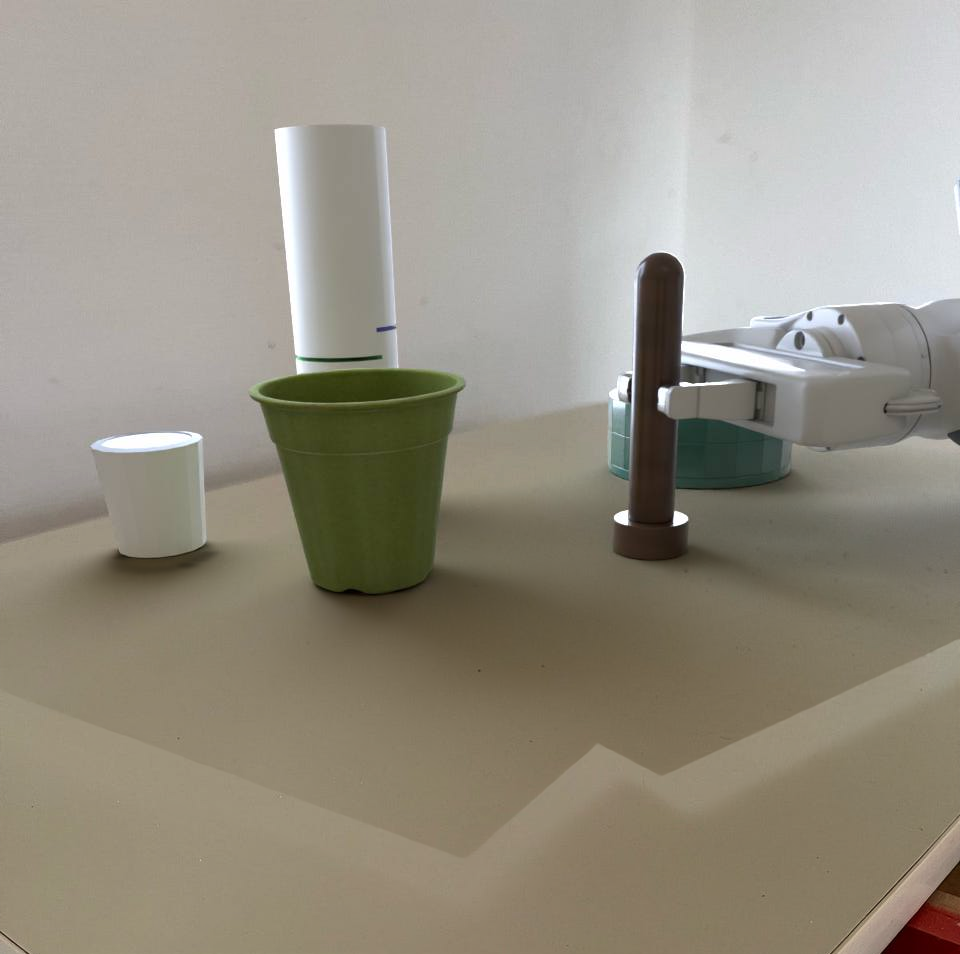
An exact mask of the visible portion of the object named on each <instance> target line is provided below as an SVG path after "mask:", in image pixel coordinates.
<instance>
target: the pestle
mask: <svg viewBox="0 0 960 954" xmlns="http://www.w3.org/2000/svg"><path fill="white" fill-rule="evenodd" d="M685 282H686V273H685V268H684V266H683V263H682V262H681V261H680V259H679V258H678V257H677V256H676V255H674V254H673V253H670V252H667V251H655V252H653V253H650V254H648V255H646V256H645V257H644V258H642V260H641V261H640V262H639V264H638V266H637V268H636V269H635V275H634V290H633V295H634V296H633V298H634V299H633V323H632V324H633V326H632V360H631V361H632V364H631V372H632V394H631V429H630V465H629V480H628V501H627V510H623V511H620V512H618V513H616V514H615V515H614V516H613V517H612V518H613V519H612V549H613V551H614V552H615V553H616V554H618V555H619V556H623V557H627V558H630V559H637V560H645V561H646V560H647V561H649V560H650V561H653V560H654V561H655V560H658V561H659V560H668V559H674V558H677V557H680V556H683V555H684V554H686V553H687V551H688V543H689V541H688V540H689V523H690V522H689V520H690V519H689V516H687V515H686V514H685V513H683V512H680V511H677V510H675V503H676V501H675V500H676V488H675V482H676V461H677V439H678V419H677V420H675V419H672V418H668V417H666V416H663V415H661V414H660V413H659V412H658V409H657V406H658V402H659V399H658V390H659V389H660V387H661V386H662V385H664V384H675V383H680V373H681V351H682V336H683V330H684V329H683V327H684V326H683V325H684V304H685V285H686V283H685Z"/></svg>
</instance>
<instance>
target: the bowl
mask: <svg viewBox="0 0 960 954" xmlns="http://www.w3.org/2000/svg"><path fill="white" fill-rule="evenodd" d="M607 398H608V401H607V447H606V449H607V453H606V454H607V467H608V470H609V471H610V473H611V474H613V475H614V476H617V477H619V478H622V479H624V480H627V481H629V465H630V429H631V404H628V403H625V402H622V401H620V400H619V399H618V397H617V388H613V390H611V391H610V392H609V393H608V397H607ZM792 453H793V443H791V442H788V441H785V440H782V439H779V438H775V437H772V436H769V435H766V434H763V433H760V432H756V431H753V430H750V429H747V428H744V427H741V426H737V425H734V424H731V423H728V422H725V421H722V420H715V419H703V418H689V419H678V439H677V461H676V482H675V489H676V488H677V489H696V490H698V489H700V490H701V489H702V490H706V489H707V490H708V489H709V490H711V489H712V490H713V489H714V490H715V489H733V488H734V489H735V488H744V487H752V486H758V485H763V484H768V483H772V482H775V481H779V480H781V479H782V478H783V479H784V478H785V477H786V476H788V474H789V473H790V472H791V465H792V464H791V463H792V455H793V454H792Z"/></svg>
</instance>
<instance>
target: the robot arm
mask: <svg viewBox="0 0 960 954" xmlns="http://www.w3.org/2000/svg"><path fill="white" fill-rule="evenodd" d="M953 190H954V198H955V206H956V213H957V214H956V215H957V222H958V223H957V224H958V231H959V234H960V177H959V178H958V180H957V182H956V183H955V186H954V189H953ZM616 381H617V384H616V387H617V388H616V389H617V397H618V399H619V400H620V401H622V402H625V403H628V404H631V394H632V371H625V372H622V373H620V374H619V376H618V377H617V380H616ZM658 399H659V402H658V406H657V409H658V412H659V413H660V414H661V415H663V416H666V417H668V418H672V419H675V420H677V419H689V418H703V419H715V420H722V421H725V422H728V423H731V424H734V425H737V426H741V427H744V428H747V429H750V430H753V431H756V432H760V433H763V434H766V435H769V436H772V437H775V438H779V439H782V440H785V441H788V442H791V443H792V444H794V445H797V446H801V447H806V448H807V449H808V450H811V451H813V452H817V453H829V452H838V451H848V450H857V449H866V448H875V447H877V448H878V447H885V446H892V445H896V444H898V443H900V442H904V441H905V440H908V439H909V438H912V437H918V438H921V439H922V438H923V439H926V440H933V441H934V440H935V441H938V440H939V441H940V440H951V441H952V442H953V443H954V444H956V445H958V446H959V447H960V297H959V298H958V297H957V298H943V299H937V300H933V301H929V302H927V303H924V304H923V305H920V306H911V305H908V304H904V303H901V302H889V301H888V302H887V301H886V302H873V303H872V302H871V303H858V304H856V303H854V304H840V305H839V304H838V305H823V306H818V307H815V308H813V309H810V310H806V311H802V312H799V313H796V314H794V315H768V316H767V315H766V316H756V317H753V318H752V319H751V320H750V323H749V326H748V327H747V326H745V327H735V328H734V327H733V328H725V329H717V330H711V331H704V332H698V333H691V334H684V335H682V351H681V373H680V383H675V384H664V385H662V386H661V387H660V389H659V390H658Z"/></svg>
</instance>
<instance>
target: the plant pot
mask: <svg viewBox="0 0 960 954" xmlns="http://www.w3.org/2000/svg"><path fill="white" fill-rule="evenodd" d="M466 386H467V380H466V379H465V377H463V376H462V375H460V374H455V373H453V372H452V373H451V372H448V371H442V370H434V369H423V368H411V367H410V368H409V367H408V368H405V367H399V368H359V369H341V370H328V371H319V372H310V373H300V374H297V373H295V374H289V375H283V376H282V375H281V376H279V377H274V378H270V379H267V380H264V381H261V382H259V383H256V384H254V385H252V386H251V387H250V388H249V390H248V394H249V397H250V398H251V399H252V400H253V401H254V402H257V403H259V405H260V409H261V411H262V415H263V418H264V421H265V425H266V428H267V432H268V435H269V439H270V440H271V442H272V443H273V444H275V449H276V452H277V456H278V459H279V463H280V467H281V470H282V474H283V478H284V482H285V484H286V485H285V486H286V489H287V493H288V496H289V500H290V503H291V506H292V507H291V508H292V511H293V515H294V520H295V523H296V526H297V531H298V534H299V537H300V541H301V545H302V548H303V553H304V557H305V560H306V564H307V568H308V572H309V576H310V578H311V580H312V581H313V583H315V584H316V586H319V587H320V588H323V589H326V590H327V591H331V592H334V593H343V592H344V591H346V590H356V591H359V592H362V593H364V594H372V595H379V594H380V595H381V594H389V593H392V592H394V591H399V590H403V589H410V588H412V587H414V586H416V585H418V584H420V583H422V582H423V581H425V580H426V579H427V577H428V575H429V573H430V572H432V571H433V570H434V564H435V555H436V547H437V538H438V537H437V536H438V528H439V521H440V520H439V519H440V511H441V503H442V493H443V486H444V485H443V484H444V475H445V467H446V459H447V450H448V444H449V435H450V434H451V433H452V431H453V428H454V421H455V413H456V406H457V401H458V393H461V391H463V390H464V388H466Z"/></svg>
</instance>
